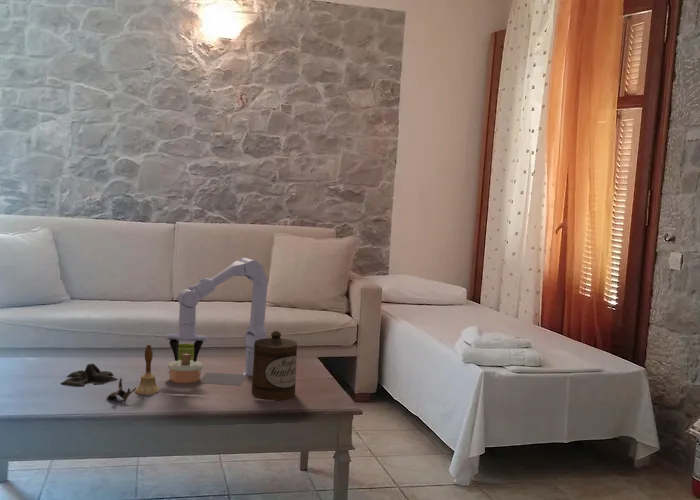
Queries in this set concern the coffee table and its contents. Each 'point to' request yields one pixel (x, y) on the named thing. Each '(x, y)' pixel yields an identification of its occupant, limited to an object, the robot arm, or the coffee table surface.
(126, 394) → the eagle figurine
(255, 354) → the wooden container
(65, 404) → the coffee table surface
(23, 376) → the coffee table surface
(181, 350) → the plant pot
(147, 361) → the hand bell
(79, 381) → the cloth
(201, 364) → the lid
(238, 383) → the mat
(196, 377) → the bowl
